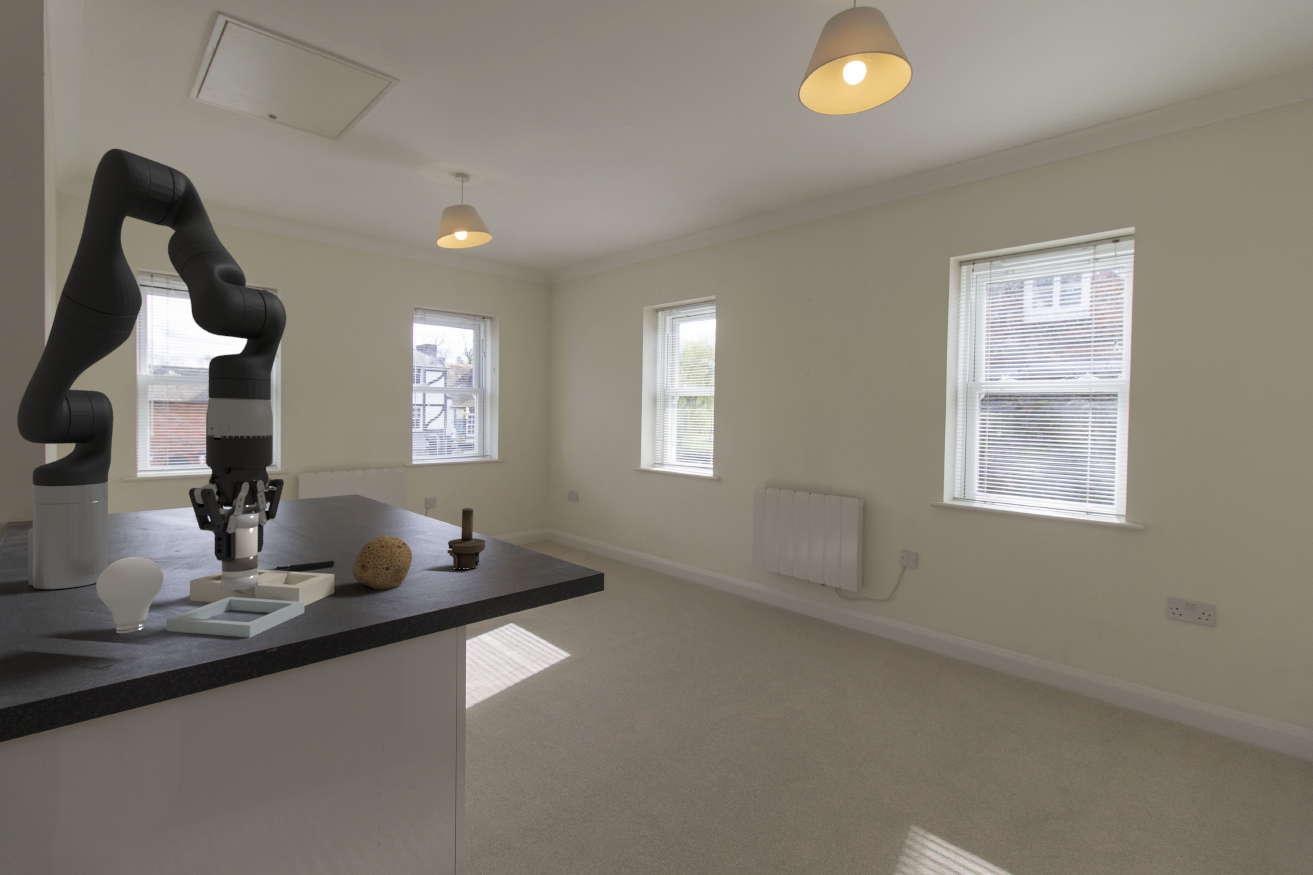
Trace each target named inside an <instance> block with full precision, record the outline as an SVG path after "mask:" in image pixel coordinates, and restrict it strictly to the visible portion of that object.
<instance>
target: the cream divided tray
mask: <svg viewBox="0 0 1313 875" xmlns="http://www.w3.org/2000/svg"><path fill="white" fill-rule="evenodd" d="M257 572H258V585H257V586H255V587H252V588H248V589H243V590H232V591H230V590H222V589H221V576H222V570H221V571H218V572H215V573H211V574H209V575H204V576H201V577H198V578H194V579H191V580H189V601H190V602H203V603H214V602H216V601H219V600H222V599H225V598H228V597H239V598H254V599H268V600H283V601H297V602H304V607H305V606H308V605H310V604H312V603H315V602H317V601H319V600H321V599H323V598H326V597H328V596H331V595H332V594H334V593H335V573H322V572H321V573H319V572H307V571H303V572H291V571H275V570H267V569H258V568H257Z"/></svg>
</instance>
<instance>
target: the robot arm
mask: <svg viewBox="0 0 1313 875" xmlns="http://www.w3.org/2000/svg"><path fill="white" fill-rule="evenodd" d="M93 176H94V177H93V181H92V186H91V189H90V194H89V198H88V199H89V200H88V203H87V209H86V213H85V218H84V223H83V228H82V233H81V236H80V239H79V243H78V246H77V249H76V252H75V256H74V259H73V262H72V264H71V267H70V270H69V272H68V275H67V278H66V280H65V283H64V284H63V288H62V290H61V294H60V295H59V296H60V297H59V301H58V303H57V307H56V310H55V313H54V318H53V321H52V323H51V324H52V325H51V328H50V330H49V334H48V338H47V341H46V344H45V346H44V350H43V351H42V355H41V357H40V359H39V361H38V363H37V366H36V368H35V370H34V372H33V374H32V376H31V378H30V380H29V382H28V384H27V386H26V389H25V391H24V393H23V396H22V398H21V400H20V403H19V406H18V411H17V416H16V417H17V418H16V420H17V422H16V425H17V430H18V432H19V435H20V436H21V437H22V438H23V439H24V440H26V441H27V442H29V443H33V444H42V445H46V444H47V445H58V444H60V445H62V444H63V445H64V444H65V445H66V444H74V448H73V450H72V451H71V452H70V453H69V454H67V455H65V456H63V457H62V458H60V459H57V460H55V461H52V462H48V463H45V464H42V465H38V466H37V467H34V469H33V472H32V528H30V529H29V530H28V532H27V534H28V536H27V537H28V540H27V541H28V546H27V548H28V552H27V554H28V556H27V557H28V566H27V567H28V585H29V586H32V587H33V588H34V589H37V590H57V589H58V590H59V589H69V588H70V589H71V588H76V587H83V586H88V585H89V586H90V585H93V584H97V580H98V577H99V575H100V574H101V572H102V571H103V570H104V569H105V568H106V567H107V566H109V471H110V467H111V462H112V444H113V443H112V442H113V432H114V410H113V404H112V403H111V402H112V401H111V400H110V399H109V397H108V396H107V394H105V393H104V392H101V391H97V390H86V389H71V387H72V386H73V385H74V383H75V381H76V380H77V379H78V377H80V376H81V375H82V374H83V373H84V372H85V371H86V370H88V369H89V368H90V367H92V366H93V365H95V364H96V363H98V362H99V361H100V360H102V359H104V358H105V357H107V356H108V355H110V354H112V352H114V351H115V350H117V349H118V348H120V347H121V346H122V345H123V344H124V343H125V342H126V341H127V340H128V339H129V338H130V336H131V334H132V332H133V330H134V327H135V325H136V322H137V319H138V317H139V314H140V311H141V308H142V303H143V297H142V292H141V289H140V287H139V285H138V281H137V279H136V277H135V274H134V273H133V270H132V269H131V267H130V265H129V263H128V260H127V258H126V255H125V252H124V250H123V246H122V228H123V224H124V221H125V219H126V217H129V218H132V219H135V220H140V221H143V222H145V223H150V224H152V225H156V226H162V227H163V226H164V227H168V228H170V229H172V230H173V231H174V232H173V234H172V235H171V236H170V238H169V241H168V245H167V254H168V258H169V260H170V261H169V262H170V263H171V265H172V267H173V268H174V270H175V272H176V273H177V274H178V276H179V277H180V278H181V280H182V281H183V283H184V285H186V286H187V287H186V288H187V291H188V296H189V301H190V308H191V315H192V319H193V320H194V323H195V324H196V325H197V326H198V327H199V328H201V329H202V330H203V331H205V332H207V333H208V334H209V333H210V334H212V335H215V336H219V337H220V336H221V337H231V338H237V339H245V340H246V343H245V346H244V347H243V349H242V351H240V352H239V353H232V354H230V353H229V354H221V355H216V356H214V357H212V358H211V360H210V361H209V364H208V401H207V409H206V414H205V416H206V417H205V464H206V467H208V468H210V469H211V475H210V478H209V479H208V483H207V484H205V485H203V486H201V487H191V488H190V489H189V491H188V495H189V499H190V502H191V505H192V508H193V512H194V516H195V519H196V522H197V524H198V525H197V526H198V528H199V530H200V531H208V532H212V533H213V534H214V557H216V560H218V561H221V562H222V561H230V560H234V559H235V538H236V533H232V532H234V530H235V525H236V521H237V517H238V516H240V515H241V513H242V512H255V513H259V525H258V553H261V552H262V551H263V546H264V526H266V524H267V522H268V521H270V520H275V518H276V517H277V512H278V508H279V505H280V500H281V498H282V497H281V496H282V492H283V488H284V483H285V481H284V479H282V478H272V477H270V475H269V474H268V471H267V467H270V466H271V465H273V460H274V459H273V457H274V455H273V454H274V452H273V449H274V447H273V446H274V444H273V442H274V439H273V438H274V415H273V409H272V371H273V367H274V364H275V360H276V357H277V353H278V350H279V346H280V344H281V341H282V338H283V335H284V332H285V330H286V329H285V328H286V325H287V311H286V308H285V305H284V303H283V302H282V301H281V299H280V298H279V296H277V295H276V294H275V293H274V292H270V291H267V290H265V289H264V290H263V289H258V288H252V287H247V286H246V285H247V280H246V276H245V273H244V271H243V269H242V268H241V266H240V265H239V264H238V263H237V260H236V259H235V258H234V257H233V256H232V255H231V253H230V252H229V251H228V248H226V247H225V245H224V244H223V243H222V242H221V240H220V238H219V237H218V235H217V233H216V231H215V229H214V226H213V224H212V222H211V220H210V217H209V215H208V212H207V210H206V208H205V205H204V204H203V202H202V199H201V197H200V194H199V192H198V190H197V188H196V186H195V185H194V183H193V182H192V181H191V179H190V178H189V177H188V175H187V174H185V173H183V172H182V171H179V170H178V169H177V168H176V169H175V168H173V167H171V166H169V165H167V164H163V163H160V162H158V161H155V160H153V159H150V158H148V157H145V156H142V155H139V154H136V153H133V152H130V151H127V150H124V149H121V148H111V149H109V150H108V151H106V152H105V153H104V154H103V156H102V157H101V158H100V161H99V162H98V164H97V167H96V171H95V172H94V175H93ZM268 503H269V505H268ZM267 507H268V509H267ZM266 509H267V510H266ZM225 515H227V519H226V523H223V516H225Z"/></svg>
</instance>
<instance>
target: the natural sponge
mask: <svg viewBox="0 0 1313 875" xmlns="http://www.w3.org/2000/svg"><path fill="white" fill-rule="evenodd" d="M362 546H363V547H361V549H360V551H359V552H358V555H357V556H356V558H355V560H354V562H353V566H352V574H353V577H354V579H355V580H356V581H357V582H358V583H359V584H362V585H365V586H368V587H370V588H372V589H374V590H389V589H395V588H398V587H400V586H401V585H402V584H403V582H404V581H405V579H406V578H407V575H408V573H409V571H410V568H411V564H412V559H413V553H412V549H411V548H410V546H409V545H408V544H407V542H405V541H404V540H403V539H401V538H399V537H396V536H391V535H381V536H377V537H374V538H372V539H371V540H369V541H368V542H366V543H365V544H364V545H362Z"/></svg>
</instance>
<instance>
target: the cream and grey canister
mask: <svg viewBox="0 0 1313 875" xmlns="http://www.w3.org/2000/svg"><path fill="white" fill-rule="evenodd" d="M226 519H227V515H225V516H223V523H226ZM258 525H259V513H255V512H242V513H241V515H240V516H238V517H237V521H236V525H235V530H234V532H232V533H236V538H235V559H234V560H230V561H221V571H222V576H221V589H222V590H230V591H232V590H243V589H248V588H252V587H255V586H257V585H258V572H257V569H258V566H259V552H258Z"/></svg>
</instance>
